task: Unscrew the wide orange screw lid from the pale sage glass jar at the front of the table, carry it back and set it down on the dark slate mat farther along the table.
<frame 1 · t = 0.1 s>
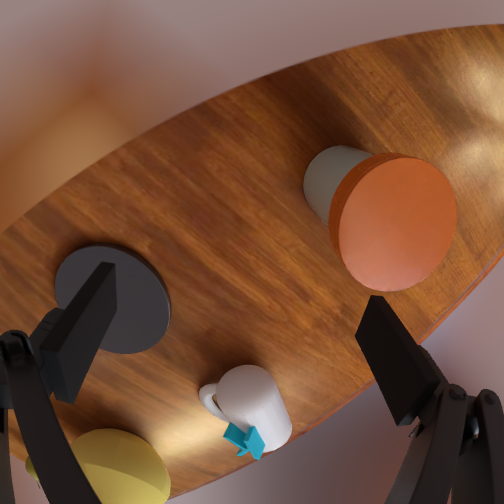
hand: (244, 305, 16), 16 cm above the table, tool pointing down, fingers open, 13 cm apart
vase: (123, 442, 45), on the table
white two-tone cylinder: (237, 388, 39), on the table
apple: (47, 452, 48), on the table
jar: (341, 184, 29), on the table
mat: (111, 300, 33), on the table
lid: (401, 226, 18), point 12 cm above the table, screwed on, not yet turned
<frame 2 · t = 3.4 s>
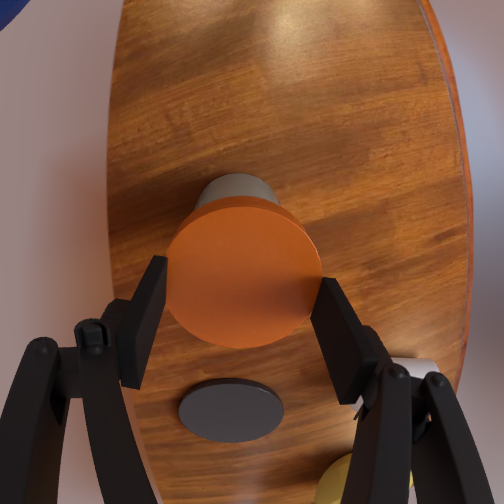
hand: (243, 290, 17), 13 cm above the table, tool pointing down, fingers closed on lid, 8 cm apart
vase: (355, 460, 49), on the table
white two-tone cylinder: (372, 375, 38), on the table
jar: (237, 215, 28), on the table
mat: (230, 411, 39), on the table
lid: (241, 283, 17), point 12 cm above the table, screwed on, not yet turned, touching gripper
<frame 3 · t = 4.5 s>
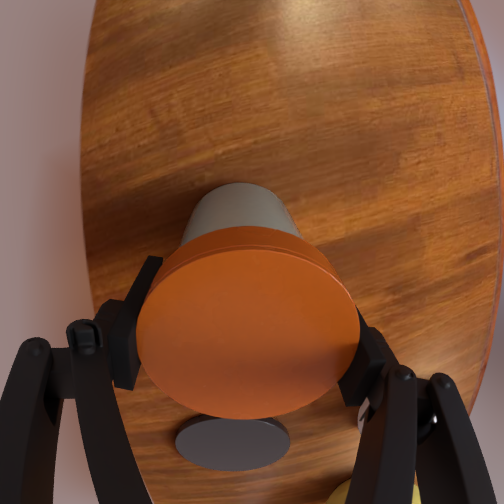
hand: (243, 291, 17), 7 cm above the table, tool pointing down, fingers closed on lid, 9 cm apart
vase: (362, 480, 44), on the table
jar: (240, 234, 23), on the table
mat: (232, 442, 34), on the table
lid: (248, 349, 12), point 12 cm above the table, screwed on, not yet turned, touching gripper
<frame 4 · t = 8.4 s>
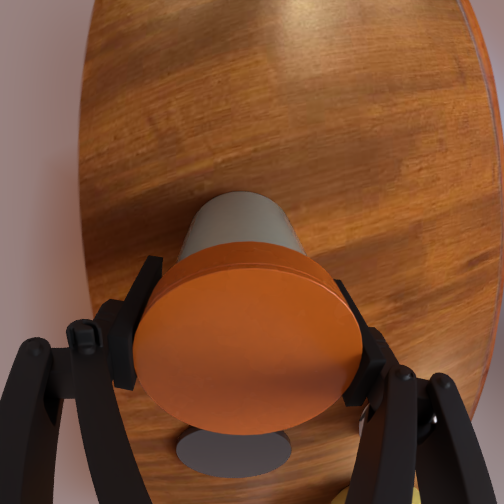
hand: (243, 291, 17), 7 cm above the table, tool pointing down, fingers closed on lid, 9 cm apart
vase: (364, 486, 43), on the table
jar: (240, 243, 23), on the table
mat: (233, 449, 34), on the table
lid: (248, 366, 12), point 12 cm above the table, turned 134° so far, risen 0.2 cm, still on its thread, touching gripper
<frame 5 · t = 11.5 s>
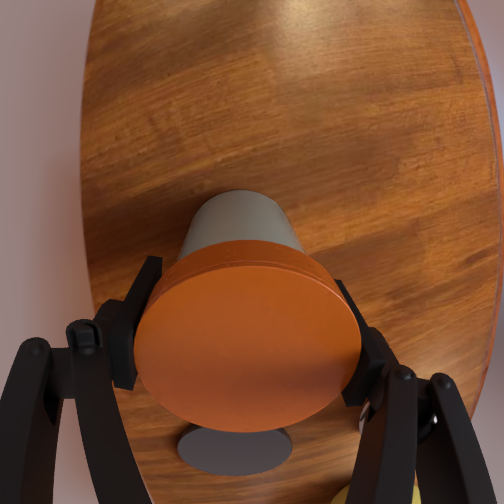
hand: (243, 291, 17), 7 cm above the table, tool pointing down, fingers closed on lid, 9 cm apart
vase: (365, 484, 44), on the table
jar: (240, 241, 23), on the table
mat: (234, 447, 34), on the table
lid: (248, 364, 12), point 12 cm above the table, turned 266° so far, risen 0.4 cm, still on its thread, touching gripper
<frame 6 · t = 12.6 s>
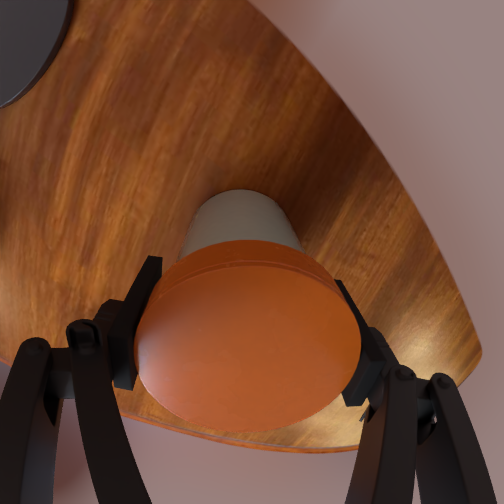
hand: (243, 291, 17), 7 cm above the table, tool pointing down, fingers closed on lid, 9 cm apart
jar: (240, 240, 23), on the table
mat: (5, 32, 15), on the table
lid: (248, 364, 12), point 13 cm above the table, off its thread, touching gripper
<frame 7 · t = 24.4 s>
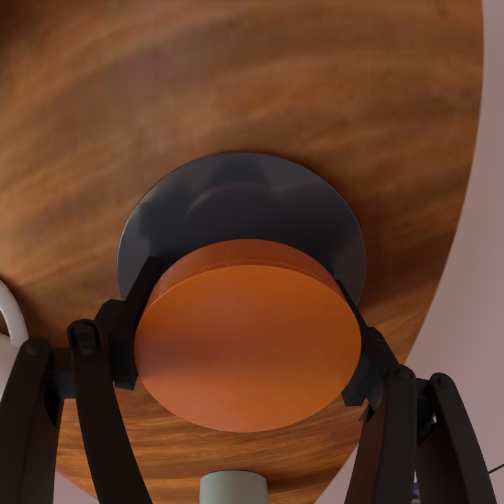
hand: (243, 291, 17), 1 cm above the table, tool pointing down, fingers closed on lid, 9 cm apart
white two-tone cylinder: (7, 329, 19), on the table
jar: (233, 483, 29), on the table
mat: (242, 276, 18), on the table
lid: (248, 363, 12), point 7 cm above the table, off its thread, touching gripper
when the fingers open (4 cm above the table, at t = 39.5 s): lid drops 7 cm, resting on mat.
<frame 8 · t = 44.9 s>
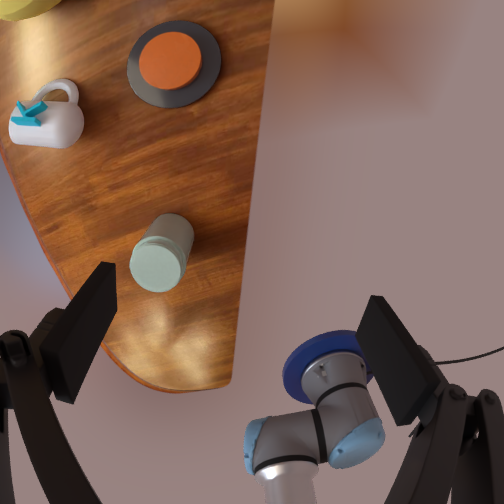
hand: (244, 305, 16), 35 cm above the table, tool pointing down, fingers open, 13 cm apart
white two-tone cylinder: (62, 111, 41), on the table
jar: (171, 235, 50), on the table
mat: (173, 63, 40), on the table
lid: (169, 60, 37), point 3 cm above the table, off its thread, touching mat
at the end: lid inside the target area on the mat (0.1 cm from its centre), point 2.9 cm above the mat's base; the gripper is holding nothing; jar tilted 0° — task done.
